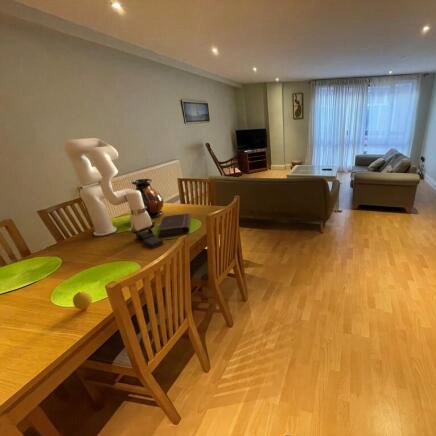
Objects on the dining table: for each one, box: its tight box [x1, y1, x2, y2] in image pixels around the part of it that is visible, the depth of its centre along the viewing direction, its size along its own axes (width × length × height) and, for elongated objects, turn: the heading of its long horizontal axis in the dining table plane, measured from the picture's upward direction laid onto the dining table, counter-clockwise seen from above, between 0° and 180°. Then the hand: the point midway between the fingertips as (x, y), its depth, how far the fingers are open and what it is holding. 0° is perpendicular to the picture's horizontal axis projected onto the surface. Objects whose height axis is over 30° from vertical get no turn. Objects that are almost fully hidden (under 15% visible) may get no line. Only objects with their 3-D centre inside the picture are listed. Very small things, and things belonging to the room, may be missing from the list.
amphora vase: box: [131, 178, 165, 220], centre depth 181 cm, size 22×22×28 cm
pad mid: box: [135, 230, 156, 241], centre depth 150 cm, size 10×6×3 cm, turn 58°
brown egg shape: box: [72, 290, 93, 310], centre depth 93 cm, size 6×6×8 cm
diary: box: [157, 213, 191, 238], centre depth 164 cm, size 19×25×5 cm
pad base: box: [143, 236, 164, 249], centre depth 143 cm, size 10×6×3 cm, turn 58°
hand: (145, 237), depth 151 cm, fingers closed on pad mid, 6 cm apart
